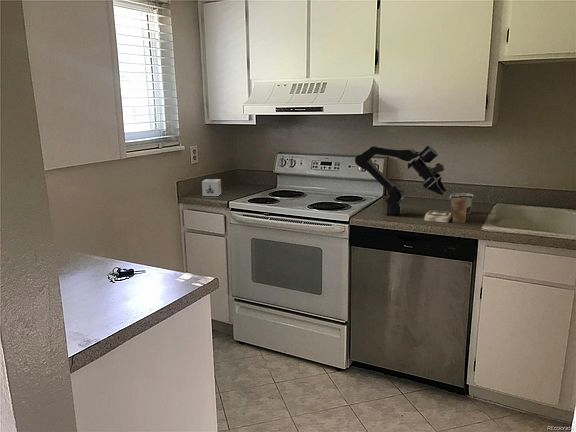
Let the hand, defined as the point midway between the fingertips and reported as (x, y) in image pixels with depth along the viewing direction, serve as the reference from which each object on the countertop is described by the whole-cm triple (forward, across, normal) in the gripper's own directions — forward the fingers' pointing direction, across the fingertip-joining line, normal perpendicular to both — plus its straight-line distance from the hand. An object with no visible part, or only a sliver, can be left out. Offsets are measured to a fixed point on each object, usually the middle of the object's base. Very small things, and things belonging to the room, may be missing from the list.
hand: (444, 192), depth 231 cm
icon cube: (-93, +9, +112) cm, 146 cm away
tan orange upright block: (+15, 0, +4) cm, 15 cm away
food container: (+13, +19, +6) cm, 24 cm away
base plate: (+8, 0, +11) cm, 14 cm away
